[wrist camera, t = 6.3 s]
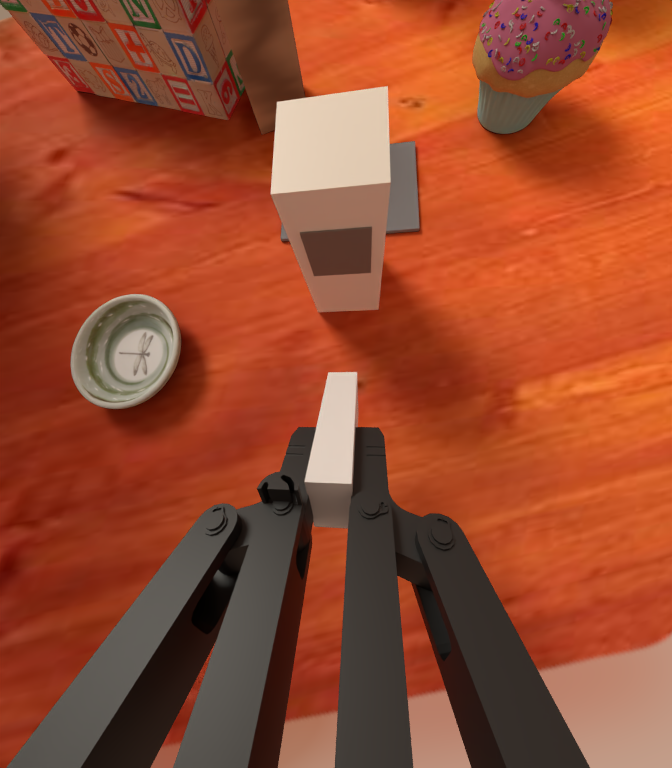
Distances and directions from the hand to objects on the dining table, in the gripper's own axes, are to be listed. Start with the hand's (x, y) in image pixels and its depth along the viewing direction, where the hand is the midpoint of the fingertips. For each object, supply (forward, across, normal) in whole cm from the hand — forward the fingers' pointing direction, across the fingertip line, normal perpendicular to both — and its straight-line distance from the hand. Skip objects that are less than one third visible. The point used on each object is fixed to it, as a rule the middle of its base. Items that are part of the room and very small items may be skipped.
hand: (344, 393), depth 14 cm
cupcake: (+23, +14, +14) cm, 30 cm away
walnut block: (+26, -7, +17) cm, 32 cm away
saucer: (+8, -18, -2) cm, 20 cm away
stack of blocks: (+30, -22, +21) cm, 43 cm away
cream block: (+12, 0, +3) cm, 12 cm away
